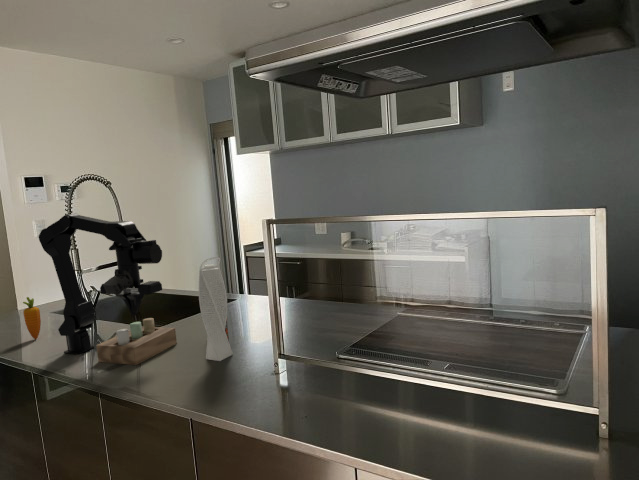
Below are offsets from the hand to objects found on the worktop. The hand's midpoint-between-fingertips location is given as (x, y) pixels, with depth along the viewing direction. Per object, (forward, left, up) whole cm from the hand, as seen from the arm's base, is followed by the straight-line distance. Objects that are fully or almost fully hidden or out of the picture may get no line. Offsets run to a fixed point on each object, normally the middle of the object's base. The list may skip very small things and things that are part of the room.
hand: (134, 315), depth 151 cm
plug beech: (0, +5, -9) cm, 10 cm away
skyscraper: (+28, +1, -12) cm, 30 cm away
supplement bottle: (+22, +10, -12) cm, 27 cm away
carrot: (-50, +5, -12) cm, 51 cm away
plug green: (0, 0, -8) cm, 8 cm away
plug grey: (0, -6, -9) cm, 10 cm away
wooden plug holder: (0, 0, -11) cm, 11 cm away
